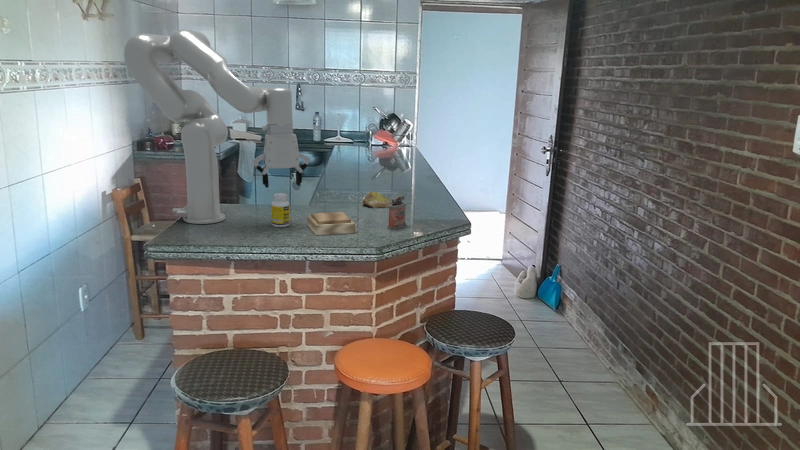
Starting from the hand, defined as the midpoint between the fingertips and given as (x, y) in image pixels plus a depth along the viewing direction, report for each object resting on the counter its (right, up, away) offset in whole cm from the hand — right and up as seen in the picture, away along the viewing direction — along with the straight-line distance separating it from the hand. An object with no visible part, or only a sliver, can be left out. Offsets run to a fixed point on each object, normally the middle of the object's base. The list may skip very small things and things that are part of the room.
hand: (282, 185), depth 183 cm
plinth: (+15, -13, +1) cm, 20 cm away
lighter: (+35, -13, +7) cm, 38 cm away
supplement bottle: (-1, -12, +3) cm, 13 cm away
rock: (+27, -5, +36) cm, 45 cm away
